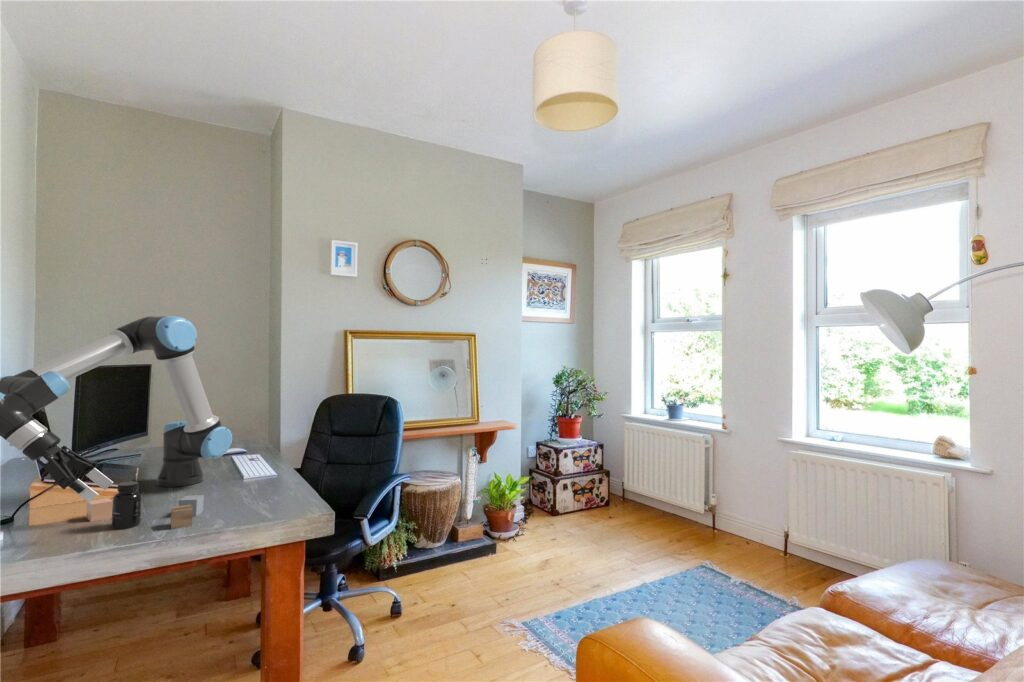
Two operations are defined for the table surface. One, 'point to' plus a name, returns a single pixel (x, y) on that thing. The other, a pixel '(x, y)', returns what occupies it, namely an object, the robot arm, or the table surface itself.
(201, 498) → the slate grey cube
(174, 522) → the walnut cube
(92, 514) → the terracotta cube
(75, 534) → the table surface
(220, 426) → the robot arm
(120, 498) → the supplement bottle
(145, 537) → the table surface
